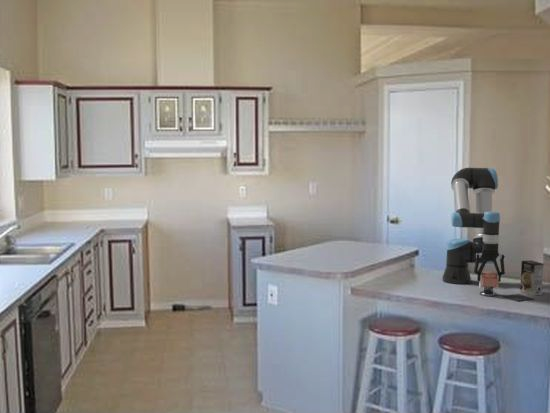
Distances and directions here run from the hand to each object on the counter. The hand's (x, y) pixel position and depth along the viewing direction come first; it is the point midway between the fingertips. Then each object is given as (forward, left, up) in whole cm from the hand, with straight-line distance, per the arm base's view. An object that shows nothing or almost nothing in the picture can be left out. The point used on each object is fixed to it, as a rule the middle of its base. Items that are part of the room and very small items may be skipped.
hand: (488, 287), depth 322 cm
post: (0, 0, -4) cm, 4 cm away
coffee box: (+5, +23, -4) cm, 24 cm away
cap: (0, 0, +1) cm, 1 cm away
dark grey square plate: (+11, +9, -4) cm, 15 cm away
